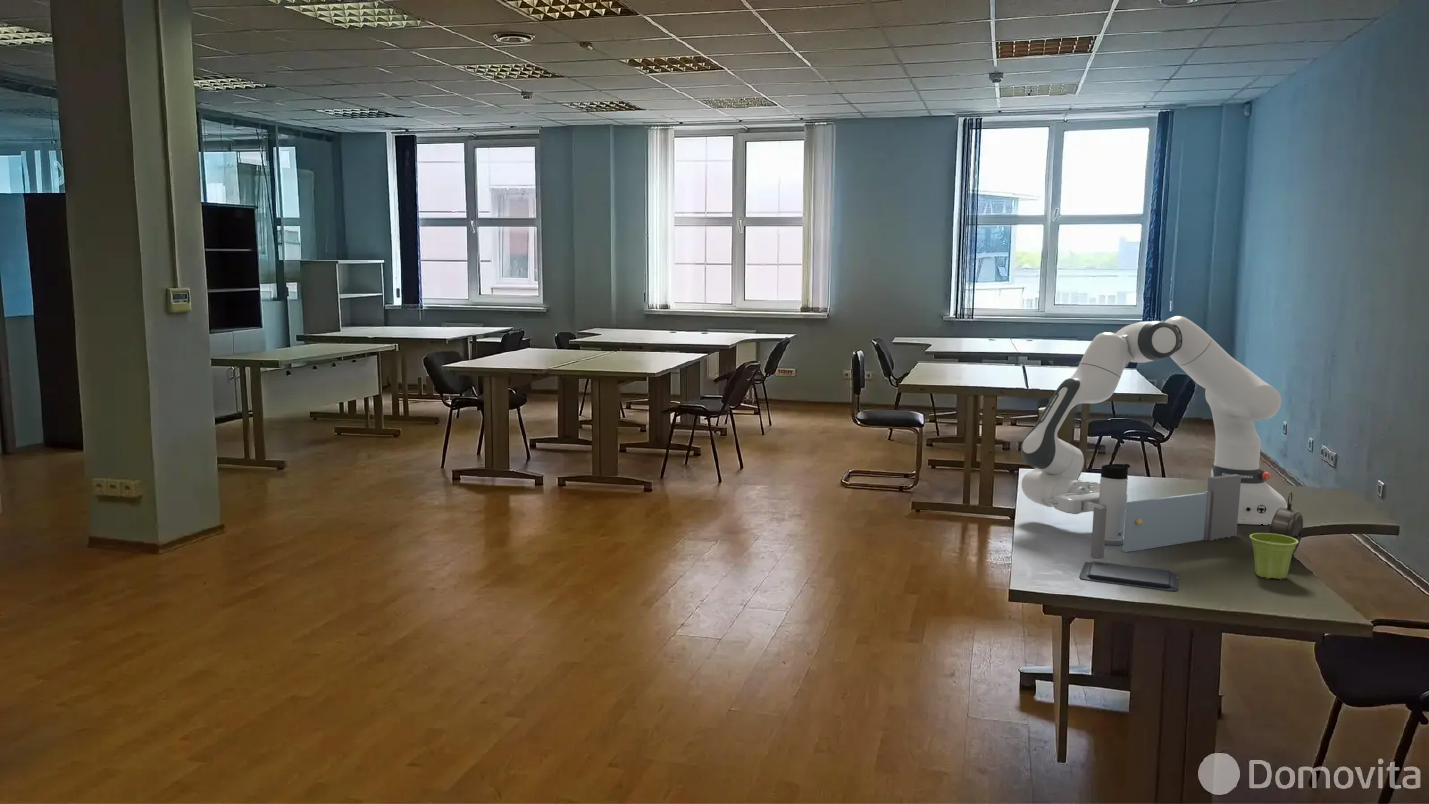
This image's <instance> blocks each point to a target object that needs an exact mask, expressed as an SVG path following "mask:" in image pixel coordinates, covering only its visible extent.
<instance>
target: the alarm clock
mask: <svg viewBox="0 0 1429 804" xmlns="http://www.w3.org/2000/svg"><path fill="white" fill-rule="evenodd" d="M1292 502H1293V492H1292V491H1289V492H1288V495H1287V503H1286V504H1287V509H1286V508H1282V507H1281V508H1279V509H1278V510H1277V511H1276V513H1275V514H1274V517H1273V519H1272V522H1271V525H1269V526H1270V527H1269V531H1268V533H1271V534H1279V535H1285V536H1289V537H1292V538H1295V539H1297V540H1298V544H1296V546H1295V549H1294V550H1293V554H1292V557H1291V558H1292V559H1293V560H1294V561H1295V560H1296V558H1295V552H1296V551H1297V549H1298V547H1299V545H1300V543H1301V539H1302V535H1303V534H1304V531H1303V528H1304V517H1303V515H1302V513H1301V512H1300V511H1299V510H1297V509H1292V506H1293V504H1292ZM1293 557H1294V558H1295V559H1294V558H1293Z"/></svg>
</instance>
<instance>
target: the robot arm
mask: <svg viewBox="0 0 1429 804" xmlns="http://www.w3.org/2000/svg"><path fill="white" fill-rule="evenodd" d="M1092 339H1093V340H1091V342H1090V344H1089V346H1088V347H1087V348H1086V350H1085V352H1084V354H1083V356H1082V358H1081V360H1080V361H1079V364H1078V366H1077V369H1076V370H1075V372H1074V373H1073V374H1072V375H1071V377H1070V378H1067V379H1065V380H1063V381H1061V383H1060V385H1059V386H1058V387H1057V388H1056V390H1055V391H1054V393H1053V395H1052V396H1051V398H1050V399H1049V401H1048V403H1047V405H1046V406H1045V408H1044V410H1043V411H1042V413H1041V415H1040V416H1039V418H1038V420H1037V421H1036V423H1035V425H1034V426H1033V428H1031V430H1030V431H1029V432H1028V433H1027V434H1026V436H1025V437H1024V438H1023V439H1022V442H1021V445H1020V446H1021V447H1020V453H1021V458H1022V460H1023V462H1024V463H1025V464H1026V465H1028V466H1030V467H1032V468H1034V469H1032V470H1030V471H1028V472H1025V474H1024V475H1023V477H1022V480H1021V489H1022V492H1023V494H1024V495H1025V497H1026V498H1027V499H1029V500H1030V501H1031V502H1034V503H1036V504H1039V505H1040V506H1044V507H1049V508H1054V509H1056V510H1057V511H1060V512H1063V513H1066V514H1072V515H1079V514H1082V513H1089V512H1094V507H1096V506H1102V507H1105V508H1106V506H1105V505H1102V504H1099V492H1100V482H1098V481H1097V482H1096V481H1083V480H1080V477H1081V474H1082V473H1083V470H1084V468H1085V467H1084V466H1085V456H1084V453H1083V451H1082V450H1081V448H1078V447H1076V446H1074V445H1073V444H1071V443H1069V442H1066V441H1065V440H1063V439H1061V438H1059V437H1058V432H1059V431H1060V428H1061V426H1062V425H1063V423H1064V422H1065V420H1066V418H1067V417H1068V415H1069V412H1070V411H1071V410H1072V409H1073V408H1074V407H1075V406H1078V405H1080V404H1098V403H1103V402H1105V401H1107V400H1108V399H1110V398H1111V397H1112V395H1113V394H1114V393H1115V392H1116V389H1117V387H1118V384H1119V382H1120V379H1121V377H1122V374H1123V372H1124V369H1125V368H1126V366H1127V365H1128V364H1132V363H1137V364H1138V363H1139V364H1144V363H1150V362H1158V361H1159V362H1160V361H1163V360H1165V359H1168V358H1171V360H1172V361H1173V362H1174V363H1175V364H1176V365H1177V366H1178V367H1179V368H1180V369H1181V370H1182V371H1183V372H1185V374H1186V375H1188V376H1189V377H1190V378H1191V380H1193V382H1195V383H1196V384H1197V385H1199V386H1200V387H1202V388H1203V389H1205V393H1204V398H1205V400H1206V403H1207V404H1208V405H1209V408H1210V411H1211V414H1212V421H1213V427H1214V434H1215V444H1214V445H1215V447H1214V448H1215V449H1214V460H1213V461H1214V462H1213V464H1212V466H1211V469H1210V470H1211V472H1210V477H1216V476H1225V475H1233V474H1237V475H1241V485H1240V498H1239V510H1238V522H1237V525H1238V524H1239V525H1257V526H1258V525H1259V526H1260V525H1261V524H1263V525H1264V526H1269V525H1268V524H1271V522H1272V519H1273V517H1274V514H1275V513H1276V511H1277V510H1278V509H1279V508H1281V507H1282V508H1286V509H1287V506H1288V505H1287V504H1288V503H1287V501H1286V499H1285V498H1284V496H1282V495H1281V493H1279V492H1278V491H1277V490H1275V489H1274V488H1273V487H1272V486H1270V485H1269V484H1268V483H1267V481H1269V480H1270V479H1271V478H1272V475H1271V474H1270V472H1268V471H1265V470H1264V469H1262V468H1260V458H1261V445H1262V441H1261V438H1260V436H1259V434H1258V432H1257V429H1256V426H1255V422H1254V421H1256V422H1257V421H1265V420H1269V419H1272V418H1273V417H1275V416H1276V415H1277V413H1278V412H1279V411H1280V409H1281V406H1282V396H1281V394H1280V392H1279V390H1277V389H1276V388H1275V387H1274V386H1273V385H1271V384H1269V383H1268V382H1266V381H1264V380H1263V379H1262V378H1260V377H1259V376H1258V375H1257V374H1255V373H1254V372H1253V371H1252V370H1251V369H1249V368H1248V367H1246V366H1245V365H1243V364H1242V363H1241V362H1239V361H1237V360H1236V359H1235V358H1234V357H1232V356H1231V355H1230V354H1229V353H1228V352H1227V351H1225V349H1224V348H1223V347H1222V346H1221V345H1219V344H1218V342H1216V341H1215V340H1214V339H1213V338H1212V337H1211V335H1209V333H1207V332H1206V331H1205V330H1204V329H1203V328H1201V327H1200V326H1199V325H1197V324H1196V323H1195V322H1193V321H1192V320H1190V319H1188V318H1187V317H1185V316H1181V315H1175V316H1172V317H1169V318H1167V319H1166V320H1164V321H1162V320H1161V321H1160V320H1152V321H1147V320H1146V321H1139V322H1136V323H1131V324H1125V325H1123V326H1120V327H1118V328H1117V329H1116V330H1115V331H1113V332H1111V331H1109V332H1107V331H1104V332H1100V333H1098V334H1096V335H1095V337H1094V338H1092ZM1126 502H1128V495H1127V496H1126ZM1263 525H1261V526H1263Z"/></svg>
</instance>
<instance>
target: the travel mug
mask: <svg viewBox="0 0 1429 804" xmlns="http://www.w3.org/2000/svg"><path fill="white" fill-rule="evenodd" d="M1130 468H1131V465H1130V464H1128V463H1108V464H1105V465H1104V464H1103V465H1101V468H1100V469H1101V470H1100V472H1101V473H1100V479H1099V483H1100V492H1099V504H1102V505H1105V506H1106V508H1107V511H1106V526H1105V542H1104V545H1105V544H1106V546H1121V545H1123V541H1124V526H1125V511H1126V496H1127V497H1128V494H1127V493H1128V492H1127V491H1128V479H1129V477H1128V473H1129V469H1130Z"/></svg>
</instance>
